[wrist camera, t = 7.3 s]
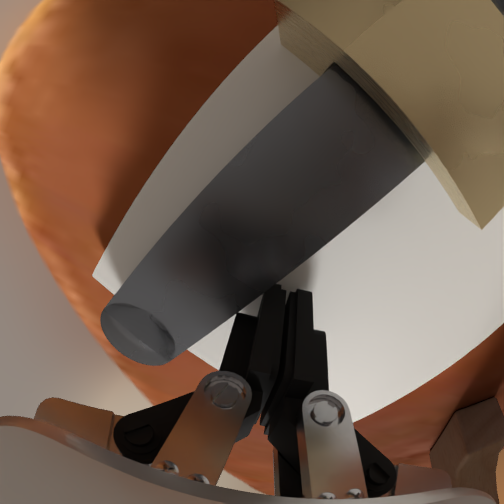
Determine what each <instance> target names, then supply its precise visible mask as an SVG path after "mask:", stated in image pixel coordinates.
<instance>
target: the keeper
mask: <svg viewBox="0 0 504 504" xmlns="http://www.w3.org/2000/svg"><path fill="white" fill-rule="evenodd" d="M274 3H275V9H276V15H277V22H278V28H279V35H280V42H281V45H282V46H284V47H285V48H286V49H287V50H289V51H290V52H291V53H293V54H294V55H295V56H296V57H298V58H299V59H300V60H301V61H302V62H304V63H305V64H306V65H307V66H308V67H310V68H311V69H312V70H313V71H314V72H315V73H317V74H318V75H319V76H321V75H322V74H324V73H325V72H326V71H327V70H328V69H329V68H330V67H331V66H332V65H333V64H334V63H336V64H337V65H339V66H340V67H341V68H342V69H343V70H344V71H345V72H346V73H347V74H348V75H349V76H350V77H351V78H353V79H354V80H355V81H356V82H357V83H358V84H359V85H360V86H361V87H362V88H363V89H364V90H365V91H366V92H367V93H368V94H369V95H370V96H371V98H372V99H373V100H374V101H375V102H376V103H377V104H378V105H379V106H380V107H381V108H382V109H383V110H384V112H385V113H386V114H387V115H388V116H389V117H390V118H391V119H392V121H393V122H394V123H395V124H396V125H397V126H398V128H399V129H400V130H401V131H402V132H403V134H404V135H405V136H406V137H407V138H408V140H409V141H410V142H411V144H412V145H413V146H414V147H415V149H416V150H417V151H418V153H419V154H420V155H421V156H422V158H423V159H424V161H425V162H426V163H427V165H428V166H429V167H430V169H431V170H432V172H433V173H434V174H435V176H436V177H437V179H438V180H439V182H440V183H441V185H442V186H443V188H444V189H445V191H446V192H447V194H448V195H449V197H450V199H451V200H452V202H453V203H454V205H455V207H456V208H457V210H458V212H459V213H461V214H462V215H463V216H465V217H466V218H467V219H468V220H470V221H471V222H472V223H473V224H475V225H476V226H477V227H478V228H480V229H481V230H482V229H483V228H484V227H485V226H486V225H487V224H488V223H489V222H490V221H491V220H492V219H493V218H494V216H495V215H496V214H497V213H498V212H499V211H500V210H501V209H502V208H503V207H504V16H503V15H502V14H501V12H500V11H499V10H498V8H497V7H496V6H495V5H494V3H493V2H492V1H491V0H274Z"/></svg>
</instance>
